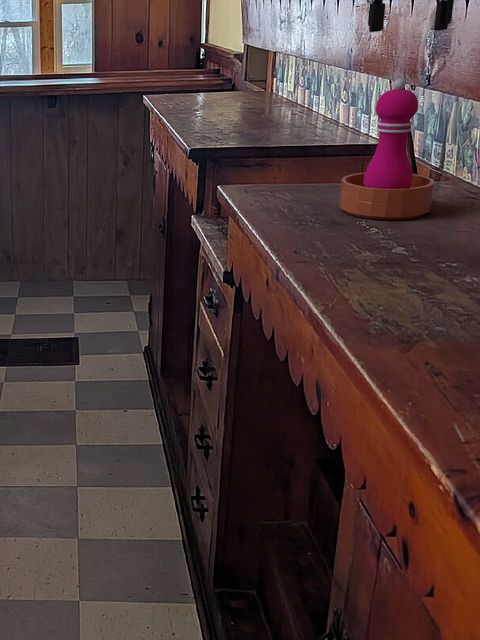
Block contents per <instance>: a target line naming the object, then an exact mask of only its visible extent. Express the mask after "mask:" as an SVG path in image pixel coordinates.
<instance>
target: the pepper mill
mask: <svg viewBox="0 0 480 640" xmlns="http://www.w3.org/2000/svg"><path fill="white" fill-rule="evenodd" d="M392 86H393V87H392V88H393V89H390V90H387V91H385V92H384V93H382V94H381V95H380V96H379V97H378V99H377V101H376V103H375V113H376V115H377V117H378V119H379V121H378V122H377V128H376V131H377V132H378V142H377V146H376V149H375V151H374V154H373V157H372V158H371V160H370V162H369V164H368V166H367V168H366V170H365V172H364V173H365V175H364V180H363V184H364V186H365V187H371V188H385V189H403V188H410V187H411V185H412V180H413V174H414V173H413V169H412V165H411V162H410V159H409V156H408V148H407V146H408V136H409V133H410V132H411V131H413V130H412V125H413V122H412V121H411V120H412V119H413V117H414V116H415V115H416V114H417V112H418V110H419V99H418V97H417V95H416V94H415V93H414V92H413V91H411V90H409V89H405V88H406V86H407V82H406V80H405V79H404V78H400V77H399V78H397V79H396V80H394V81H393V83H392Z"/></svg>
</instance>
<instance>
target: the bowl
mask: <svg viewBox="0 0 480 640" xmlns="http://www.w3.org/2000/svg"><path fill="white" fill-rule="evenodd" d="M412 174H413V180H412V185H411V187H410V188H403V189H385V188H371V187H365V186H364V184H363V180H364V175H365V172H358V173H352V174H348V175H345V176H343V177H342V178H341V180H340V189H339V191H340V192H339V199H338V207H339V208H340V210H342V211H344V212H346V213H347V214H349V215H352V216H355V217H358V218H363V219H370V220H382V221H383V220H384V221H385V220H386V221H389V220H390V221H394V220H395V221H399V220H410V219H415V218H419V217H421V216H422V215H425V214H428V213H429V212H431V209H432V204H433V197H434V189H435V182H436V181H435V180H434V179H433V178H431V177H428V176H425V175H420V174H416V173H412Z"/></svg>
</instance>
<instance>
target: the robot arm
mask: <svg viewBox="0 0 480 640" xmlns="http://www.w3.org/2000/svg"><path fill="white" fill-rule="evenodd" d="M383 1H384V0H366V1H365V2H366V3H367V4H368V6H369V7H368V17H367V26H368V31H369V33H377V32H382V31H383V30H384V23H385V14H386V2H383ZM454 2H455V0H438V1H437V3H436V6H435V7H436V8H435V15H434V23H433V24H434V25H433V30H434V31H436V32H438V31H439V32H440V31H445V30H448V26H449V25H450V24H451V23H452V18H453V10H454Z"/></svg>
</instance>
